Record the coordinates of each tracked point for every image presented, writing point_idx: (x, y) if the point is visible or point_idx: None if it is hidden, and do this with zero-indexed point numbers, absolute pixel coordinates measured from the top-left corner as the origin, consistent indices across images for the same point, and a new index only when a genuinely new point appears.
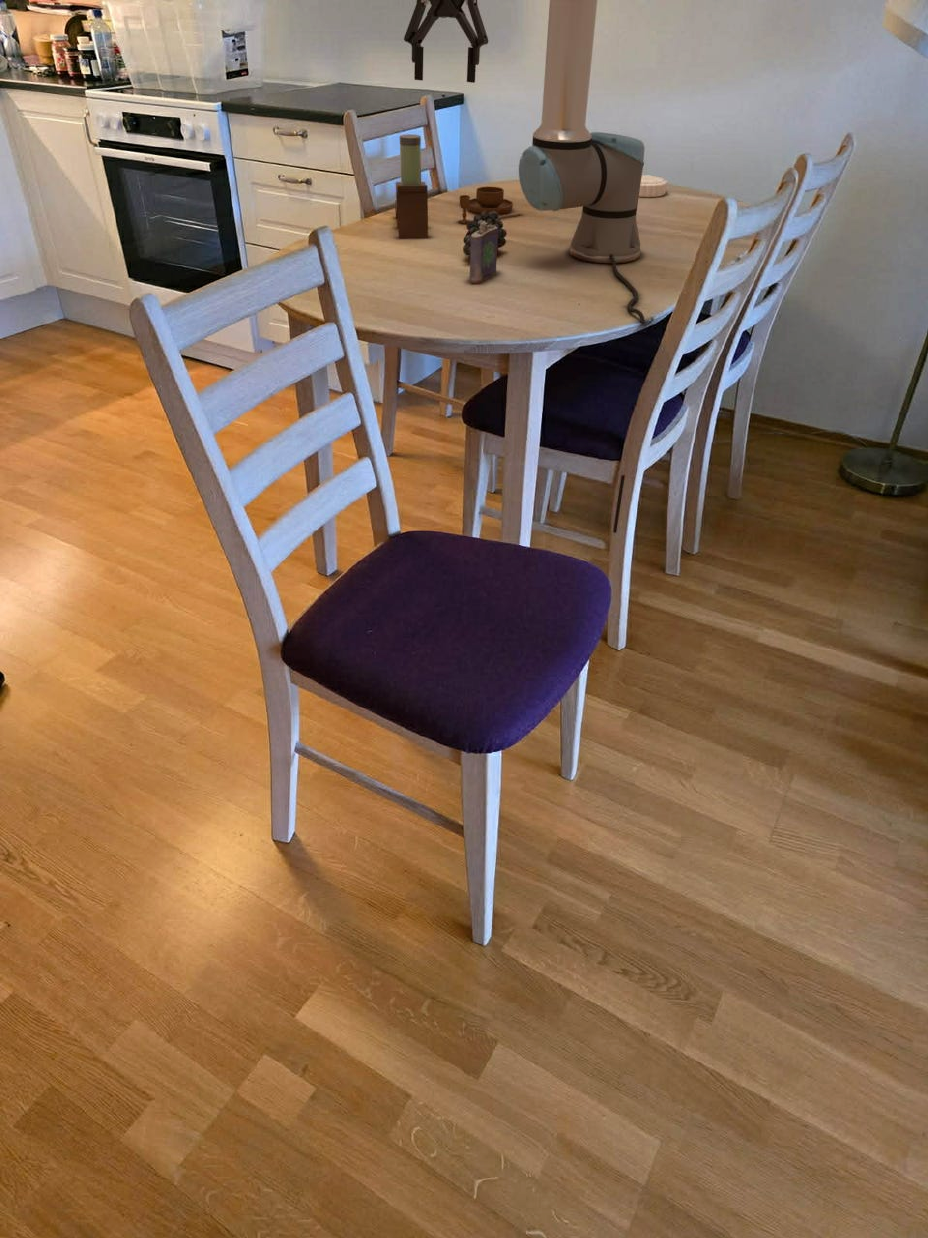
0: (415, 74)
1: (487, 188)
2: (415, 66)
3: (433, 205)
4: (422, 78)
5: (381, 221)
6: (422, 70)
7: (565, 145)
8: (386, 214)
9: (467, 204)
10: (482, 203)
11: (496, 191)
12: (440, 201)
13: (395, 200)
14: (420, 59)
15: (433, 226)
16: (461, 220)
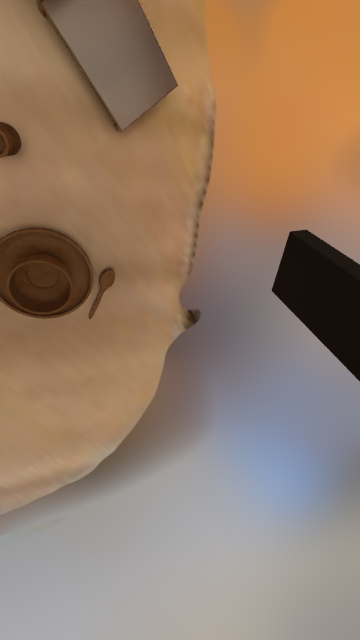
0: (317, 241)
1: (63, 303)
2: (349, 262)
3: (156, 239)
4: (276, 290)
5: (178, 28)
6: (299, 311)
7: None
8: (199, 111)
9: None
10: (40, 253)
11: (45, 308)
12: (161, 271)
13: (176, 84)
14: (351, 325)
15: (38, 49)
16: (16, 143)
